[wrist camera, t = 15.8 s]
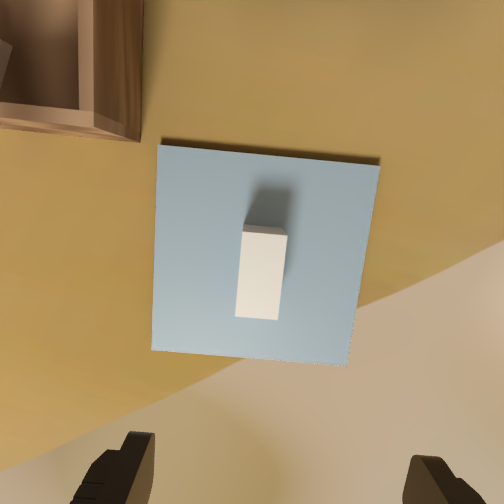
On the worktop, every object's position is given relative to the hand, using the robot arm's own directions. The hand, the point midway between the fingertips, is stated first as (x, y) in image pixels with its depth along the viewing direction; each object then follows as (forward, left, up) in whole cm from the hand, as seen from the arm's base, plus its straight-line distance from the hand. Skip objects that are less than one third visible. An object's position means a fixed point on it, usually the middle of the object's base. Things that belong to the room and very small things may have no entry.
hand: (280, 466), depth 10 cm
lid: (0, 0, -27) cm, 27 cm away
